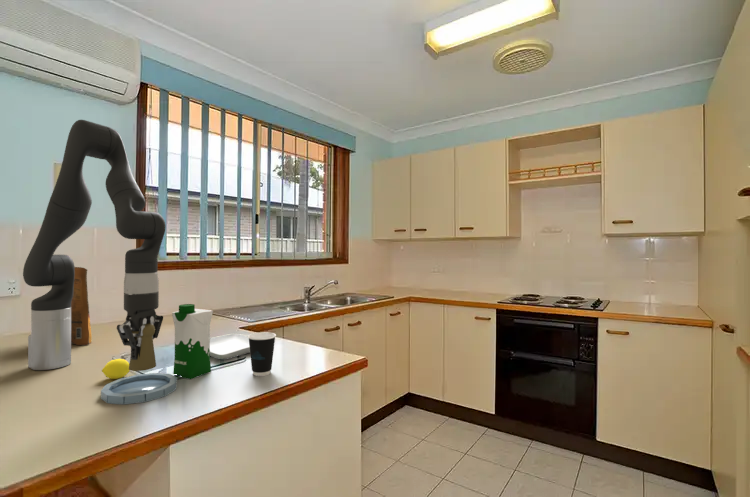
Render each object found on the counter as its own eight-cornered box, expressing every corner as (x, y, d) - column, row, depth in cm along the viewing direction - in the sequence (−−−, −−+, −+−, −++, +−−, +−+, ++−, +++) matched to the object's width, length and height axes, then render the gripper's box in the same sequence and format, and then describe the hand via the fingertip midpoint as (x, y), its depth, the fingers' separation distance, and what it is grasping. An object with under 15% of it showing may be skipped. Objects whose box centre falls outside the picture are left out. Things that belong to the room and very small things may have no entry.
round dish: (84, 401, 91) (84, 393, 91) (135, 378, 107) (135, 371, 107) (146, 406, 89) (147, 398, 89) (189, 381, 105) (189, 375, 105)
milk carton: (167, 376, 109) (168, 305, 108) (195, 367, 117) (195, 300, 117) (190, 381, 105) (190, 307, 105) (216, 371, 113) (217, 303, 113)
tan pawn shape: (143, 372, 95) (144, 327, 94) (122, 369, 96) (123, 325, 96) (161, 364, 100) (162, 322, 100) (142, 362, 102) (142, 320, 102)
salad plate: (273, 349, 138) (273, 340, 138) (221, 365, 120) (221, 354, 120) (234, 340, 150) (234, 332, 150) (182, 353, 132) (182, 343, 132)
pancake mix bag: (75, 348, 135) (76, 268, 135) (55, 340, 146) (55, 265, 145) (98, 344, 141) (98, 267, 140) (76, 336, 151) (76, 264, 151)
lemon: (125, 375, 111) (128, 356, 111) (133, 379, 107) (136, 359, 108) (96, 378, 105) (100, 358, 106) (103, 383, 102) (107, 362, 102)
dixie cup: (249, 379, 107) (249, 339, 107) (245, 370, 114) (246, 333, 114) (278, 375, 110) (278, 337, 110) (273, 367, 118) (273, 331, 117)
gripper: (147, 287, 105) (147, 350, 105) (105, 293, 91) (105, 367, 91) (173, 287, 104) (173, 352, 104) (134, 294, 90) (134, 368, 90)
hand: (141, 358), depth 98 cm, fingers closed on tan pawn shape, 2 cm apart
